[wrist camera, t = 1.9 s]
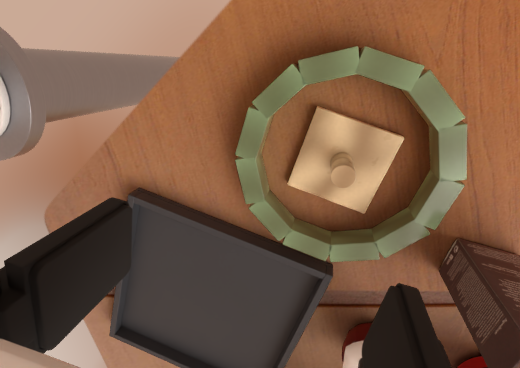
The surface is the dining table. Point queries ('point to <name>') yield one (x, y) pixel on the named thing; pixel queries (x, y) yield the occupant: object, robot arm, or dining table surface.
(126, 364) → the dining table surface
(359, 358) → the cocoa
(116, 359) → the dining table surface
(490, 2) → the dining table surface
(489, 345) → the box
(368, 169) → the peg
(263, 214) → the green ring
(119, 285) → the tray
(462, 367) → the beverage can
